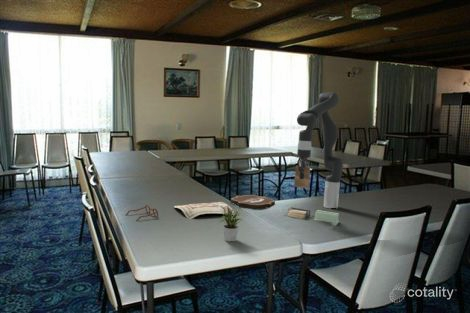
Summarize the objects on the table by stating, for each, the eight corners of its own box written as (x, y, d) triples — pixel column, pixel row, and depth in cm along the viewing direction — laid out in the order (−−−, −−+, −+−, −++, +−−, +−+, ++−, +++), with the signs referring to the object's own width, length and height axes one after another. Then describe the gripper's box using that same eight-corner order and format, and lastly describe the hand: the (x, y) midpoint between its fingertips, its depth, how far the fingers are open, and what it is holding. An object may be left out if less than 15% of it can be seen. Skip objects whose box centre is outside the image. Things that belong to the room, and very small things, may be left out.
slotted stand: (317, 218, 217) (318, 209, 217) (338, 222, 212) (339, 212, 211) (313, 221, 210) (314, 212, 209) (335, 225, 205) (336, 215, 204)
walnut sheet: (295, 186, 220) (296, 165, 218) (308, 187, 216) (310, 167, 215) (294, 186, 218) (295, 166, 216) (307, 188, 214) (309, 167, 213)
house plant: (205, 239, 170) (207, 204, 169) (223, 232, 182) (225, 199, 180) (231, 247, 162) (233, 210, 161) (248, 239, 174) (250, 204, 172)
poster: (216, 209, 239) (171, 211, 225) (217, 199, 238) (171, 200, 224) (237, 218, 214) (187, 220, 200) (238, 207, 214) (188, 208, 200)
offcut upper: (290, 211, 217) (290, 209, 217) (306, 214, 214) (306, 211, 214) (288, 213, 213) (288, 211, 213) (304, 216, 209) (304, 213, 209)
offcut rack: (289, 213, 225) (289, 206, 224) (312, 217, 218) (312, 210, 218) (282, 218, 214) (283, 210, 213) (306, 222, 208) (307, 214, 207)
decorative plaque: (258, 207, 224) (220, 198, 243) (257, 212, 225) (220, 203, 244) (285, 200, 248) (248, 192, 266) (284, 205, 248) (248, 197, 267)
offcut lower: (290, 214, 218) (290, 211, 218) (305, 216, 214) (305, 214, 214) (287, 216, 214) (287, 213, 213) (303, 218, 210) (303, 216, 210)
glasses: (158, 218, 201) (159, 209, 200) (136, 222, 192) (136, 212, 192) (146, 212, 211) (146, 204, 210) (124, 215, 202) (124, 206, 201)
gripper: (301, 147, 222) (299, 176, 224) (294, 148, 210) (292, 179, 212) (313, 148, 219) (311, 178, 221) (307, 150, 207) (305, 181, 209)
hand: (302, 178), depth 216 cm, fingers closed on walnut sheet, 1 cm apart
